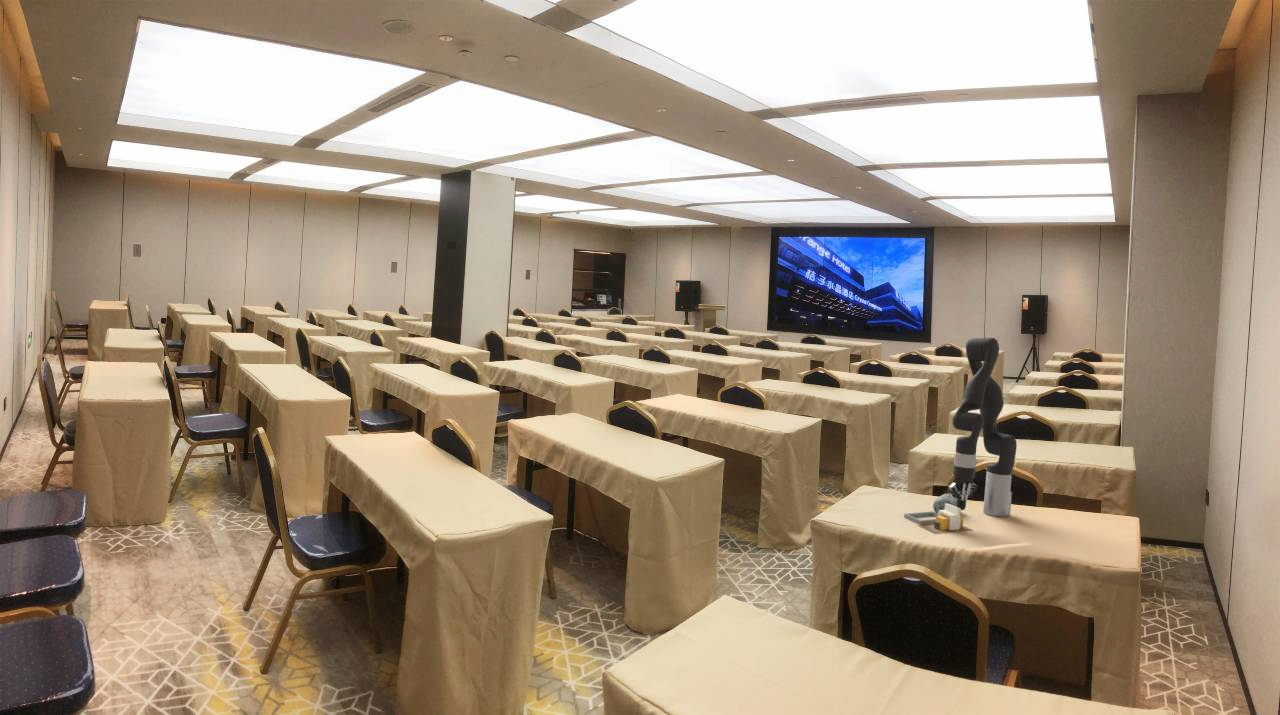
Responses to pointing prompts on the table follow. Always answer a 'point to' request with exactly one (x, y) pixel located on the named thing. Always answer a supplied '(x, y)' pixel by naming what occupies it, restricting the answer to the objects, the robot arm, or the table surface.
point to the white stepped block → (951, 516)
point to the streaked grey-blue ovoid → (944, 502)
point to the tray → (912, 516)
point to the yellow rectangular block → (945, 522)
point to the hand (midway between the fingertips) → (961, 509)
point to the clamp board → (935, 529)
